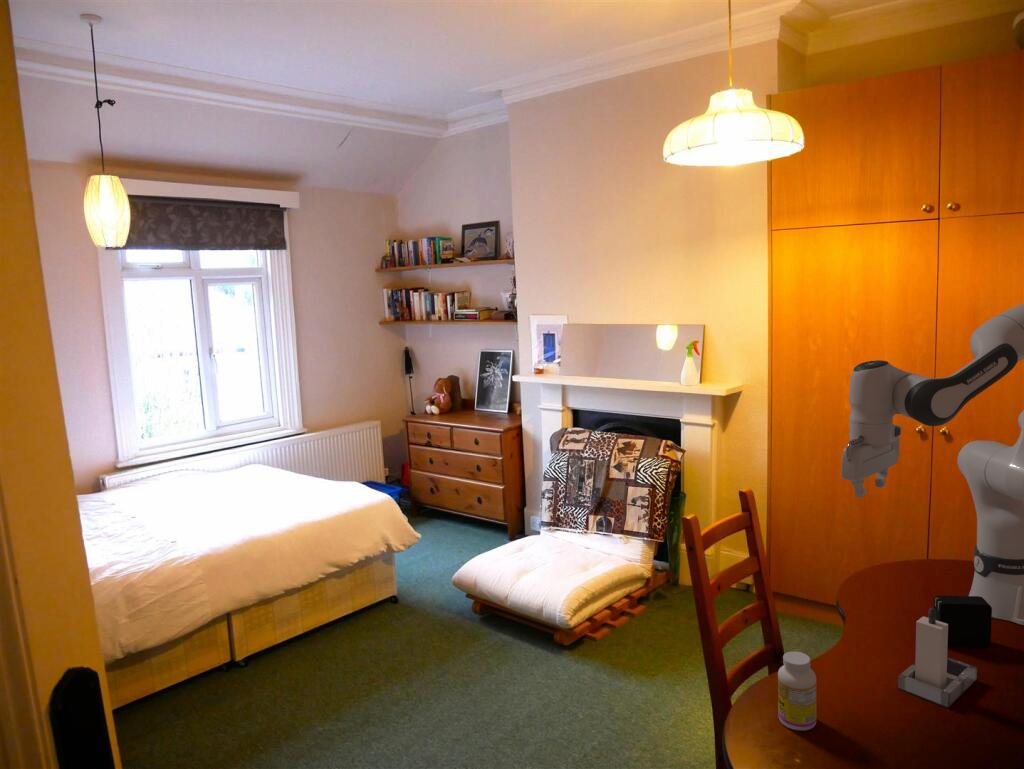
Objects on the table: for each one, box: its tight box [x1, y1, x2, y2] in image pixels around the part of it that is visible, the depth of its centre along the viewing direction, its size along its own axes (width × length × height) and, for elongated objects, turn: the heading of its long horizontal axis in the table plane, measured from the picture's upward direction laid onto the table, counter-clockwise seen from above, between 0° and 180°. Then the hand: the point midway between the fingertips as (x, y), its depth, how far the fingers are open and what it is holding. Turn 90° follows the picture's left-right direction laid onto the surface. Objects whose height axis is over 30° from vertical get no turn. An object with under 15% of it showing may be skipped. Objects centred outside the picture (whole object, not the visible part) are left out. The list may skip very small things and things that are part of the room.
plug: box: [914, 607, 948, 690], centre depth 142 cm, size 4×3×17 cm, turn 38°
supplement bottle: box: [777, 651, 817, 732], centre depth 136 cm, size 7×7×13 cm
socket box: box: [897, 656, 978, 709], centre depth 145 cm, size 9×14×3 cm, turn 128°
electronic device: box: [932, 594, 993, 650], centre depth 159 cm, size 4×10×10 cm, turn 79°
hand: (870, 491), depth 168 cm, fingers open, 8 cm apart
